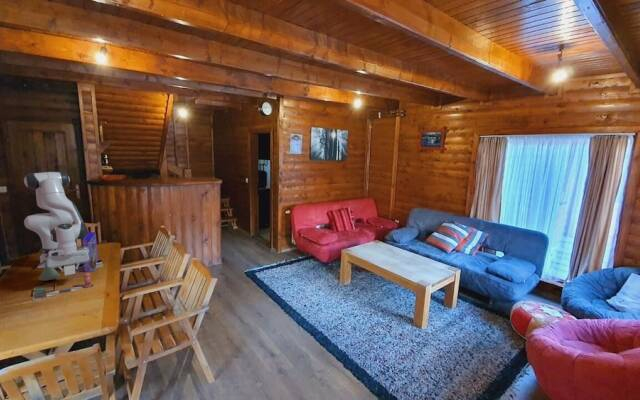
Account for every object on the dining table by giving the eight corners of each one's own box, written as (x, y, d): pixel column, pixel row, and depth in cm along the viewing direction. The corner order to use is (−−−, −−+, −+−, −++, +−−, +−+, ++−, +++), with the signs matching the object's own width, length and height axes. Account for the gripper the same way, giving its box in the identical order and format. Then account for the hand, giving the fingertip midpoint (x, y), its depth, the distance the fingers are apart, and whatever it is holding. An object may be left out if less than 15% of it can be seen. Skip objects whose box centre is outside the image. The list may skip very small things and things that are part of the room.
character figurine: (29, 287, 178) (25, 259, 175) (33, 281, 185) (29, 255, 182) (63, 281, 187) (60, 255, 184) (65, 276, 194) (62, 251, 190)
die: (64, 272, 182) (63, 265, 181) (75, 270, 185) (74, 263, 184) (64, 275, 179) (64, 268, 178) (75, 273, 182) (74, 266, 181)
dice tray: (34, 289, 175) (34, 287, 175) (56, 285, 182) (56, 283, 182) (33, 296, 168) (32, 294, 168) (56, 291, 175) (56, 289, 174)
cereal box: (93, 271, 204) (90, 239, 199) (85, 272, 201) (82, 239, 197) (98, 262, 218) (95, 231, 214) (90, 263, 216) (87, 232, 212)
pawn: (83, 285, 182) (82, 272, 181) (91, 283, 185) (90, 270, 183) (84, 288, 179) (82, 274, 178) (92, 286, 182) (91, 273, 180)
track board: (33, 297, 168) (33, 296, 168) (93, 284, 186) (93, 283, 186) (32, 300, 164) (32, 299, 164) (94, 287, 183) (94, 286, 182)
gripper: (88, 245, 188) (90, 264, 191) (45, 251, 175) (48, 272, 177) (89, 248, 183) (91, 268, 186) (45, 254, 170) (47, 276, 173)
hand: (69, 270), depth 182 cm, fingers closed on die, 5 cm apart
